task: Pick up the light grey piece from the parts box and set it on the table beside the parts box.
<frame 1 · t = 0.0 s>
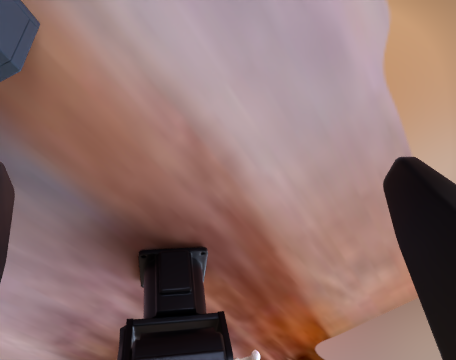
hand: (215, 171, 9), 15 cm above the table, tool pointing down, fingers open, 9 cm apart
figurine: (202, 359, 61), on the table
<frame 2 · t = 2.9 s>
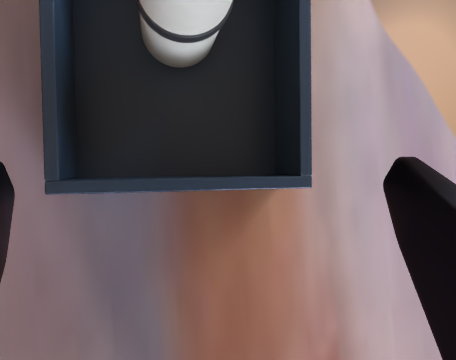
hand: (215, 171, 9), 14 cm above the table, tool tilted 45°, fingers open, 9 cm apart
light grey piece: (178, 31, 21), point 1 cm above the table, touching parts box
parts box: (178, 70, 22), on the table
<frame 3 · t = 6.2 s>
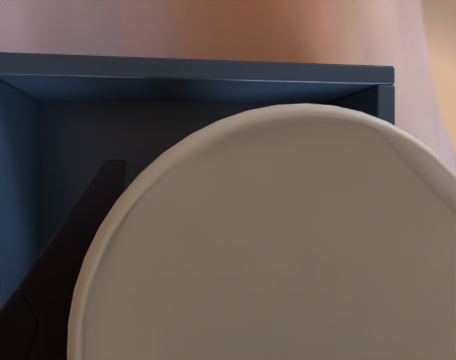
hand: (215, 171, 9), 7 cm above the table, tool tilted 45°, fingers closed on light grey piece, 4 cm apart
light grey piece: (192, 205, 15), point 1 cm above the table, touching gripper, parts box
parts box: (191, 253, 16), on the table
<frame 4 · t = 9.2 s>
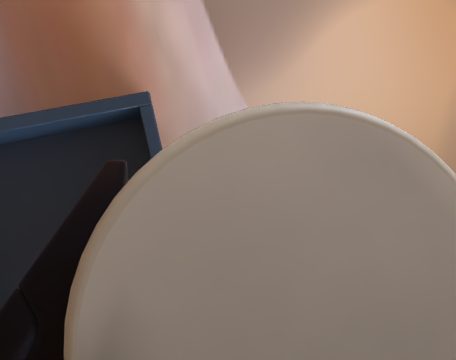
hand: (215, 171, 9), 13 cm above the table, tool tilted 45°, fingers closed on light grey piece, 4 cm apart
light grey piece: (191, 205, 15), point 7 cm above the table, touching gripper
parts box: (67, 246, 21), on the table
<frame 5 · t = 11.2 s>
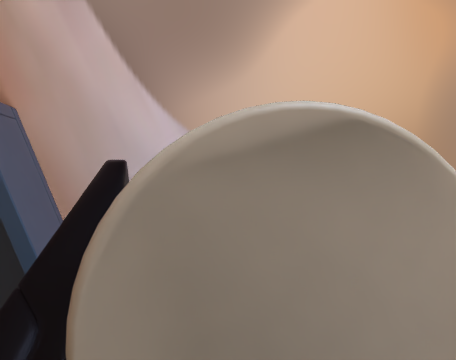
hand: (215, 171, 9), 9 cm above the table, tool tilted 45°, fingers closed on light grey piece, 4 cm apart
light grey piece: (192, 205, 15), point 3 cm above the table, touching gripper
when the fingers open (6 cm above the table, at t = 12.4 s): light grey piece stays where it is, on the table.
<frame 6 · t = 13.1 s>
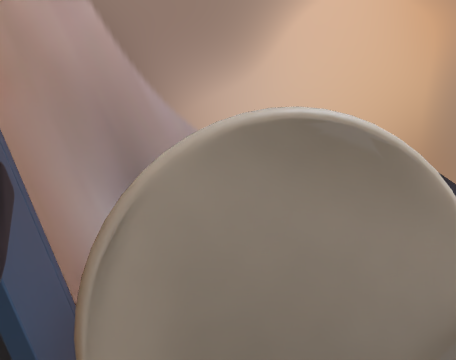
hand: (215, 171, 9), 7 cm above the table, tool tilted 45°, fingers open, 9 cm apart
light grey piece: (191, 204, 15), on the table
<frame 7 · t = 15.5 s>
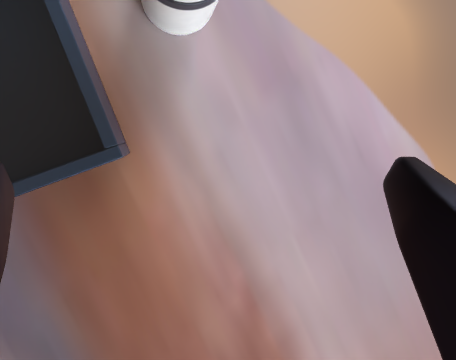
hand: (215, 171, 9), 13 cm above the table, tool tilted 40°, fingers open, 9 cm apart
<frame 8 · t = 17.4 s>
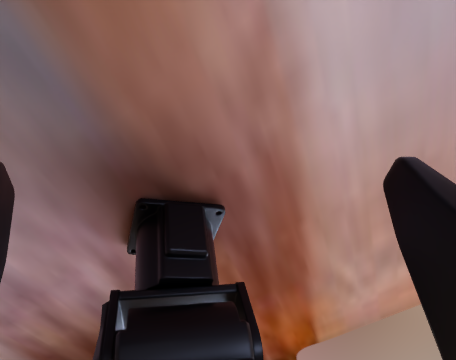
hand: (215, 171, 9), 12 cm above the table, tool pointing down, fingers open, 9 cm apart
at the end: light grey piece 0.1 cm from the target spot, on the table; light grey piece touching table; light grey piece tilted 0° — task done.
